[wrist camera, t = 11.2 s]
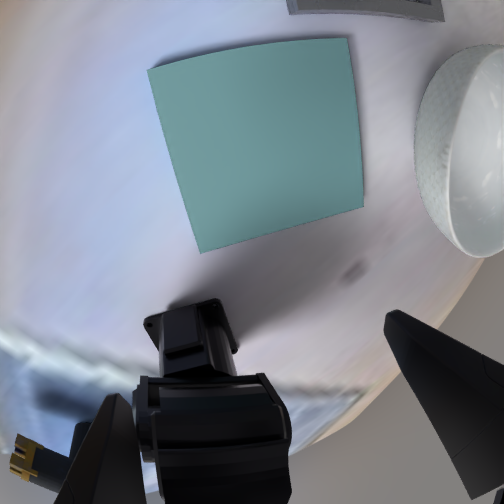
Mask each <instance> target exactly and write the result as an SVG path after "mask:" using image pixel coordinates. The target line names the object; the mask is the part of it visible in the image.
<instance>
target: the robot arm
mask: <svg viewBox="0 0 504 504" xmlns="http://www.w3.org/2000/svg"><path fill="white" fill-rule="evenodd" d="M214 304H218V305H217V306H213V305H214ZM148 323H152V324H148ZM143 325H144V328H145V329H146V331H147V333H148V335H149V336H150V338H151V340H152V341H153V343H154V345H155V346H156V348H157V350H158V351H159V366H160V377H148V376H140V385H137V389H136V390H134V391H133V401H132V408H131V406H130V405H129V403H128V402H127V401H126V400H125V399H124V398H123V397H122V396H121V395H120V394H119V393H113V394H108V395H107V396H106V397H105V399H104V401H103V403H102V405H101V407H100V408H99V410H98V412H97V414H96V416H95V418H94V420H93V422H92V424H91V426H90V428H89V430H88V432H87V434H86V436H85V438H84V440H83V442H82V445H81V447H80V449H79V451H78V453H77V455H76V457H75V459H74V461H73V463H72V466H71V468H70V470H69V472H68V474H67V476H66V479H65V481H64V483H63V485H62V487H61V489H60V491H59V494H58V496H57V498H56V500H55V502H54V504H147V503H146V497H145V490H144V482H143V474H142V466H141V457H140V452H142V458H143V461H144V462H155V465H156V472H157V479H158V486H159V493H160V496H161V498H162V499H163V500H164V501H165V504H287V503H288V501H289V498H290V496H291V493H292V488H291V483H290V475H289V467H288V451H289V447H290V444H291V439H292V427H291V421H290V417H289V413H288V411H287V408H286V406H285V404H284V403H283V401H282V400H281V398H280V397H279V395H278V394H277V392H276V391H275V389H274V388H273V386H272V385H271V383H270V382H269V380H268V378H267V377H266V375H265V374H264V373H256V375H242V376H237V372H236V368H235V365H234V361H233V357H232V355H233V354H235V353H237V351H238V349H237V345H236V342H235V340H234V337H233V334H232V331H231V328H230V326H229V323H228V320H227V317H226V314H225V311H224V308H223V305H222V303H221V301H220V300H219V299H216V298H215V299H211V300H207V301H204V302H201V303H197V304H194V305H190V306H186V307H183V308H179V309H176V310H172V311H169V312H165V313H162V314H158V315H154V316H151V317H147V318H145V319H144V322H143ZM384 335H385V337H386V339H387V341H388V343H389V345H390V348H391V350H392V352H393V354H394V356H395V358H396V361H397V363H398V365H399V367H400V369H401V371H402V373H403V375H404V377H405V378H406V380H407V382H408V383H409V385H410V387H411V388H412V390H413V392H414V393H415V395H416V397H417V398H418V400H419V402H420V404H421V406H422V407H423V409H424V411H425V413H426V414H427V416H428V418H429V420H430V421H431V423H432V425H433V427H434V429H435V430H436V432H437V434H438V436H439V438H440V440H441V441H442V443H443V445H444V447H445V449H446V451H447V453H448V455H449V456H450V458H451V461H452V462H453V464H454V466H455V468H456V470H457V472H458V474H459V476H460V478H461V480H462V482H463V484H464V486H465V488H466V490H467V492H468V494H469V497H470V498H471V500H473V499H475V498H477V497H479V496H481V495H484V494H486V493H487V492H490V491H491V490H493V489H495V488H497V487H499V486H501V485H502V487H501V488H500V489H499V490H497V493H496V496H495V500H494V503H493V504H504V365H502V364H501V363H499V362H497V361H495V360H493V359H491V358H489V357H487V356H485V355H483V354H482V355H481V353H479V352H478V351H476V350H474V349H472V348H470V347H468V346H467V345H465V344H463V343H461V342H459V341H457V340H455V339H453V338H452V337H450V336H448V335H446V334H444V333H442V332H440V331H438V330H437V329H435V328H433V327H431V326H429V325H427V324H425V323H423V322H421V321H420V320H418V319H416V318H414V317H412V316H410V315H408V314H406V313H404V312H402V311H401V310H398V309H396V310H393V311H391V312H388V313H387V314H386V317H385V324H384ZM231 349H232V350H231Z"/></svg>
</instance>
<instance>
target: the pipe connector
mask: <svg viewBox="0 0 504 504" xmlns="http://www.w3.org/2000/svg"><path fill="white" fill-rule="evenodd" d="M90 426H91V424H90V423H79V424H77V425H76V426H75V429H74V434H73V439H72V444H71V449H70V455H69V457H66V456H64V455H61V454H59V453H57V452H54V451H52V450H50V449H47V448H45V447H44V446H43V445H40V444H38V443H37V442H35V441H33V440H31V439H28V438H26V437H24V436H22V435H20V434H17V437H16V441H15V454H14V453H12V455H11V459H10V472H12V473H14V474H16V475H18V476H20V477H21V479H23V480H25V481H27V482H29V481H30V482H32V483H34V484H37V485H39V486H41V487H44V488H46V489H49V490H51V491H54V492H57V493H59V491H60V489H61V487H62V485H63V483H64V481H65V479H66V476H67V474H68V472H69V470H70V468H71V466H72V463H73V461H74V459H75V457H76V455H77V453H78V451H79V449H80V447H81V445H82V442H83V440H84V438H85V436H86V434H87V432H88V430H89V428H90ZM16 454H17V455H16ZM18 455H19V456H18ZM20 456H21V457H20ZM22 457H23V458H22ZM24 458H25V459H24Z"/></svg>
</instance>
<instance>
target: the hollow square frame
mask: <svg viewBox="0 0 504 504" xmlns="http://www.w3.org/2000/svg"><path fill="white" fill-rule="evenodd" d="M417 1H418V3H417V2H412V1H406V0H286V2H287V6H288V11H289V15H296V14H364V15H378V16H389V17H398V18H406V19H413V20H420V21H426V22H445V20H444V15H443V10H442V5H441V0H417Z"/></svg>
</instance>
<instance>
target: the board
mask: <svg viewBox="0 0 504 504" xmlns="http://www.w3.org/2000/svg"><path fill="white" fill-rule="evenodd" d="M147 73H148V77H149V81H150V85H151V89H152V93H153V96H154V100H155V104H156V108H157V112H158V115H159V119H160V123H161V126H162V130H163V133H164V137H165V141H166V144H167V148H168V151H169V155H170V158H171V161H172V165H173V168H174V172H175V175H176V178H177V182H178V185H179V188H180V192H181V195H182V198H183V201H184V205H185V208H186V211H187V214H188V217H189V220H190V224H191V227H192V230H193V233H194V236H195V239H196V242H197V245H198V248H199V251H200V254H201V253H205V252H208V251H212V250H215V249H218V248H222V247H225V246H229V245H232V244H235V243H239V242H242V241H246V240H249V239H253V238H256V237H259V236H263V235H266V234H270V233H273V232H277V231H280V230H284V229H287V228H291V227H294V226H298V225H301V224H305V223H308V222H312V221H315V220H319V219H322V218H326V217H329V216H333V215H336V214H340V213H344V212H347V211H351V210H354V209H358V208H361V207H364V198H363V175H362V158H361V145H360V133H359V122H358V113H357V104H356V95H355V88H354V80H353V73H352V67H351V60H350V54H349V48H348V42H347V38H327V39H309V40H296V41H286V42H277V43H268V44H261V45H254V46H248V47H241V48H236V49H230V50H225V51H220V52H215V53H210V54H206V55H201V56H197V57H193V58H189V59H185V60H181V61H177V62H173V63H170V64H166V65H163V66H159V67H156V68H152V69H149V70H147Z"/></svg>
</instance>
